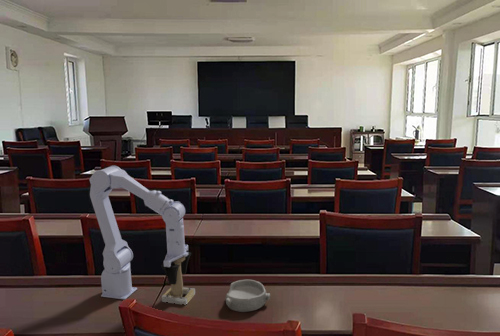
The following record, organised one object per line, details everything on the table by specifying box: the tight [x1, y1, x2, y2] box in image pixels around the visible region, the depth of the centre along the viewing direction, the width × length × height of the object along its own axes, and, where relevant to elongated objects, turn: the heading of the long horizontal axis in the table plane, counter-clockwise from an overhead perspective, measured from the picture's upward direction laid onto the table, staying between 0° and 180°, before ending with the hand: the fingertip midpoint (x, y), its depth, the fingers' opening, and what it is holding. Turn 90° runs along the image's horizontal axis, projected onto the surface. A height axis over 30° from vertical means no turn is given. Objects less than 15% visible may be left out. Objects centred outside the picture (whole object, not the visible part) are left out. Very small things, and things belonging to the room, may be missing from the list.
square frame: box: [161, 286, 196, 306], centre depth 138 cm, size 9×8×2 cm
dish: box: [225, 279, 271, 313], centre depth 134 cm, size 14×14×5 cm
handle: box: [164, 255, 185, 297], centre depth 136 cm, size 5×6×15 cm
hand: (177, 278), depth 137 cm, fingers open, 7 cm apart
